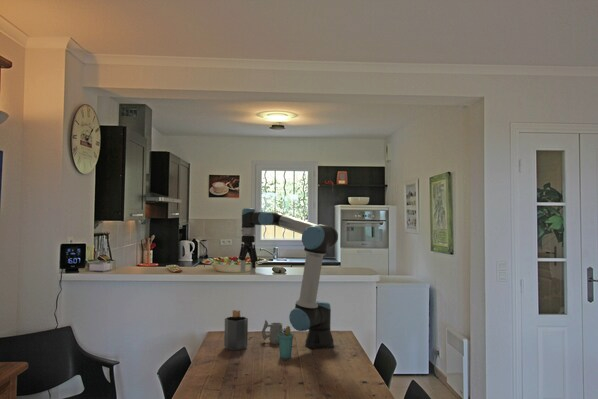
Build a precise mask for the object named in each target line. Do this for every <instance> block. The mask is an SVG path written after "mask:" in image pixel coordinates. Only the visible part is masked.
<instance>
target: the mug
mask: <svg viewBox="0 0 598 399" xmlns="http://www.w3.org/2000/svg"><path fill="white" fill-rule="evenodd" d="M267 328H269V333H268V334H266V329H267ZM283 329H284V328H283V324H282V323H281V322H272V323H268V321H267V319H265V320H264V324H263V327H262V330H261V336H262V339H263V341H266V340H267V339H268V340H269V343H271V344H275V345H276V344H279V337H278V334H281V333H283Z"/></svg>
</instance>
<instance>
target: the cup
mask: <svg viewBox="0 0 598 399" xmlns="http://www.w3.org/2000/svg"><path fill="white" fill-rule="evenodd" d="M282 329H283V331H282V333H281V334H278V337H279V343H278V346H279V349H278V350H279V357H280V358H281V359H291V358H292V350H293V349H292V348H293V339H294V334H293V333H291V327H290V326H289V325H287V326H286V327H284V328H282Z"/></svg>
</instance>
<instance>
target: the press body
mask: <svg viewBox="0 0 598 399" xmlns="http://www.w3.org/2000/svg"><path fill="white" fill-rule="evenodd" d="M232 318H233V316H228V317H225V318H224V338H223V339H224V349H225V350H227V351H243V350H246V349H247V347H248V339H249V338H248V337H249V336H248V333H249V332H248V331H249V328H248V327H249V326H248V323H249V322H248V321H249V319H248V317H246V316H240V320H238V321H234V320H232Z"/></svg>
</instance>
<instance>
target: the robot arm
mask: <svg viewBox="0 0 598 399" xmlns="http://www.w3.org/2000/svg"><path fill="white" fill-rule="evenodd" d="M256 226H277V227H279V228H282V229H286V230H289V231H291V232H294V233H297V234H301V243H302V245H303V247H304V248H303V249H304V250H303V251H304V252H305V253H306V254H305V261H304V265H303V275H302V280H301V285H300V293H299V298H298V300H296V302H295V306H294V308H293V309H291V310H290V312H289V316H288V317H289V318H288V320H289V323H290V324H291V327H292V328H293V329H294V330H296V331H298V332H306V331H308V332H307V335H306V339H305V342H304V343H305V347H308V348H311V349H319V350H320V349H329V348H333V347H334V346H335V345H334V338H333V335H332V332H331V318H332V317H331V316H332V315H331V312H332V311H331V310H332V309H331V304H330V303H329V302H326V301H317V297H318V296H317V295H318V291H319V283H320V278H321V271H322V265H323V261H324V259H323V258H324V256H326V255H327V253H328V248H332V247H334V246H335V245H336V244H337V242H338V239H339V233H338V232H337V229H336V228H334V227H333V226H331V225H326V224H322V223H320V224H317V223H313V222H310V221H307V220H303V219H300V218H297V217H294V216H290V215H286V214H285V213H284V212H281V211H278V212H277V211H276V212H274V211H272V212H271V211H256V208H253V207H252V208H249V207H248V208H246V207H245V208H243V209H242V211H241V244H240V246H241V247H240V250H239V251H240V252H239V254H238V255H239V256H238V259H239V260H240V272H241V273H242V272H243V273H245V272H246V257H247V255H248V256H249V259H250V261H249V262H250V270H249V271H250V272H249V273H250V275H255V274H256V262H258V255H257V251H256V243H255V242H256V236H255V235H256ZM253 243H255V244H253Z"/></svg>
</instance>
